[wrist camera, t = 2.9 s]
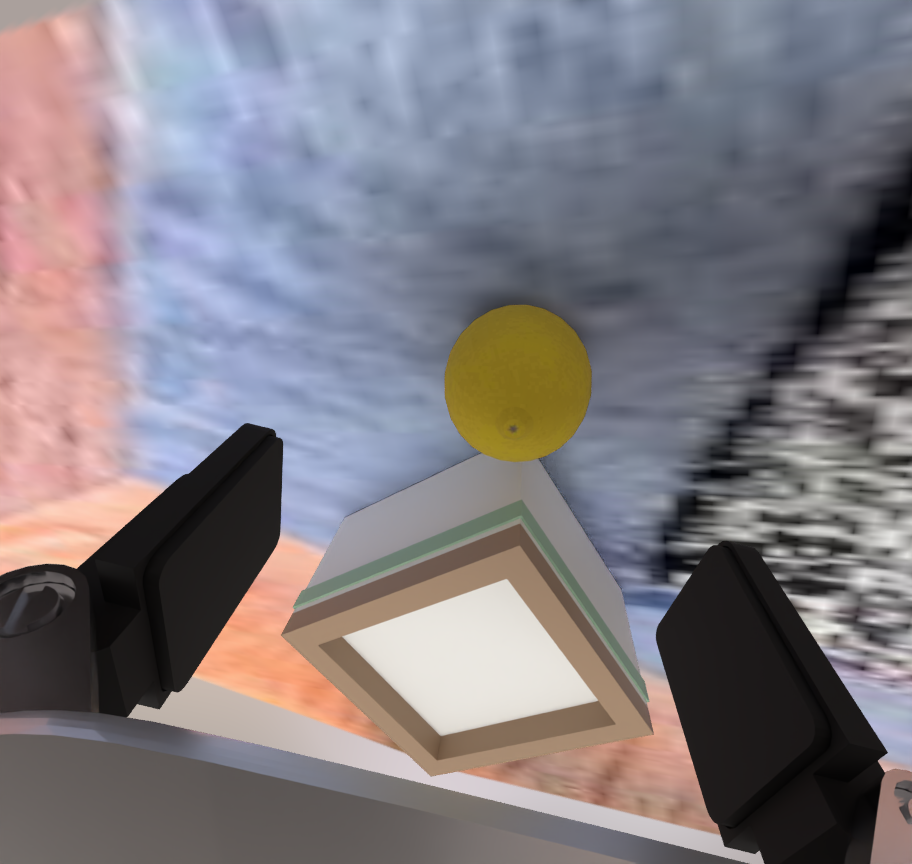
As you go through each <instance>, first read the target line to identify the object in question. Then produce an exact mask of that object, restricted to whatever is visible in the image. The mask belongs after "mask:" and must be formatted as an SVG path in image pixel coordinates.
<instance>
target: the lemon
mask: <svg viewBox="0 0 912 864" xmlns="http://www.w3.org/2000/svg"><path fill="white" fill-rule="evenodd" d="M591 379H592V371H591V366H590V362H589V359H588V355H587V351H586V349H585V347H584V345H583V343H582V342H581V340H580V339H579V337H578V335H577V334H576V332H575V331H574V330H573V329H572V328H571V327H570V326H569V325H568V324H567V323H566V322H565V321H564V320H563V319H562V318H560V317H559V316H557V315H555V314H553V313H551V312H549V311H547V310H546V309H543V308H539V307H535V306H530V305H507V306H504V307H500V308H497V309H493V310H491V311H489V312H487V313H486V314H484V315H482V316H481V317H479V318H477V319H475V320H474V321H473V322H472V323H471V324H470V325H469V326H468V327H467V328H466V329H465V330H464V331H463V332H462V333H461V335H460V336H459V338H458V340H457V341H456V343H455V345H454V347H453V348H452V350H451V352H450V355H449V359H448V363H447V366H446V370H445V399H446V403H447V407H448V411H449V414H450V417H451V420H452V421H453V423H454V425H455V427H456V428H457V430H458V432H459V433H460V435H461V436H462V437H463V438H464V439H465V440H466V441H467V442H468V443H469V444H470V445H471V446H472V447H473V448H475V449H477V450H478V451H480V452H481V453H483V454H484V455H487V456H490V457H493V458H495V459H498V460H502V461H510V462H523V461H532V460H535V459H538V458H541V457H545V456H547V455H549V454H550V453H552V452H554V451H556V450H557V449H559V448H560V447H562V446H563V445H564V444H565V443H566V442H567V441H568V440H569V439H570V438H571V437H572V436H573V435H574V434H575V432H576V430H577V429H578V427H579V426H580V424H581V422H582V421H583V419H584V417H585V414H586V410H587V407H588V404H589V400H590V397H591Z"/></svg>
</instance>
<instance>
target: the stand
mask: <svg viewBox="0 0 912 864" xmlns="http://www.w3.org/2000/svg"><path fill="white" fill-rule="evenodd" d="M293 608H294V609H295V610H294V612H293V614H292V616H291V618H290V619H289V621H288V623H287V625H286V627H285V629H284V630H283V632H282V634H281V636H282V637H283V638H284V639H285V640H286V641H287V642H288V643H290V644H291V645H292V646H293V647H294V648H295V649H296V650H297V651H298V652H299V653H300V654H301V655H302V656H303V657H304V658H305V659H307V660H308V661H309V662H310V663H311V664H312V665H313V666H314V667H315V668H316V669H317V670H318V671H319V672H320V673H321V674H322V675H324V676H325V677H326V678H327V679H328V680H329V681H330V682H331V683H332V684H333V685H334V686H335V687H336V688H337V689H338V690H340V691H341V692H342V693H343V694H344V695H345V696H346V697H347V698H348V699H349V700H350V701H351V702H352V703H353V704H354V705H355V706H357V707H358V708H359V709H360V710H361V711H362V712H363V713H364V714H365V715H366V716H367V717H368V718H369V719H370V720H371V721H372V722H374V723H375V724H376V725H377V726H378V727H379V728H380V729H381V730H382V731H383V732H384V733H385V734H386V735H387V736H388V737H390V738H391V739H392V740H393V741H394V742H395V743H396V744H397V745H398V746H399V747H400V748H401V749H402V750H403V751H404V752H405V753H407V754H408V755H409V756H410V757H411V758H412V759H413V760H414V761H415V762H416V763H417V764H418V765H419V766H420V767H421V768H423V769H424V770H425V771H426V772H427V773H428V774H429V775H430V776H436V775H441V774H447V773H452V772H457V771H463V770H468V769H473V768H479V767H484V766H489V765H495V764H500V763H505V762H510V761H516V760H521V759H526V758H532V757H537V756H542V755H548V754H553V753H558V752H564V751H569V750H574V749H579V748H585V747H590V746H595V745H601V744H606V743H611V742H617V741H622V740H627V739H632V738H638V737H643V736H648V735H654V733H653V728H652V724H651V720H650V715H649V711H648V706H647V702H649V698H648V694H647V690H646V685H645V681H644V680H643V678H642V677H641V675H640V671H639V666H638V662H637V657H636V653H635V649H634V644H633V640H632V635H631V631H630V626H629V622H628V617H627V613H626V609H625V604H624V600H623V595H622V591H621V589H620V587H619V586H618V584H617V582H616V581H615V579H614V578H613V576H612V575H611V573H610V571H609V570H608V568H607V567H606V565H605V563H604V562H603V560H602V559H601V557H600V556H599V554H598V552H597V551H596V549H595V548H594V546H593V544H592V543H591V541H590V540H589V538H588V537H587V535H586V533H585V532H584V530H583V529H582V527H581V525H580V524H579V522H578V521H577V519H576V518H575V516H574V514H573V513H572V511H571V510H570V508H569V506H568V505H567V503H566V502H565V500H564V499H563V497H562V495H561V494H560V492H559V491H558V489H557V488H556V486H555V484H554V483H553V481H552V480H551V478H550V476H549V475H548V473H547V472H546V470H545V469H544V467H543V465H542V464H541V462H540V461H539V459H535V460H532V461H523V462H510V461H502V460H498V459H495V458H493V457H490V456H487V455H484V454H483V453H480V454H478V455H476V456H474V457H472V458H470V459H467V460H465V461H463V462H461V463H459V464H457V465H455V466H453V467H451V468H448V469H446V470H444V471H442V472H440V473H438V474H436V475H434V476H432V477H429V478H427V479H425V480H423V481H421V482H419V483H417V484H415V485H413V486H410V487H408V488H406V489H404V490H402V491H400V492H398V493H396V494H394V495H391V496H389V497H387V498H385V499H383V500H381V501H379V502H377V503H375V504H372V505H370V506H368V507H366V508H364V509H362V510H360V511H358V512H356V513H353V514H351V515H349V516H347V517H345V518H344V520H343V521H342V523H341V525H340V527H339V529H338V531H337V533H336V534H335V536H334V538H333V540H332V542H331V544H330V545H329V547H328V549H327V551H326V553H325V555H324V557H323V558H322V560H321V562H320V564H319V566H318V568H317V570H316V571H315V573H314V575H313V577H312V579H311V581H310V582H309V584H308V586H307V588H306V589H305V590H303V591H301V593H300V595H299V597H298V599H297V600H296V602H295V604H294V606H293Z"/></svg>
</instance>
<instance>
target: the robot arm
mask: <svg viewBox="0 0 912 864" xmlns="http://www.w3.org/2000/svg"><path fill="white" fill-rule="evenodd" d="M282 465H283V441H282V439H281V438H278V437H276V433H275V431H274V430H273V429H270V428H265V427H261V426H257V425H253V424H249V423H245V424H244V425H242V426H241V427H240V428H239V429H238V430H237V431H236V432H235V433H233V434H232V435H231V436H230V437H229V438H228V439H227V440H226V441H225V442H223V443H222V444H221V445H220V446H219V447H218V448H217V449H216V450H215V451H214V452H212V453H211V454H210V455H209V456H208V457H207V458H206V459H205V460H204V461H202V462H201V463H200V464H199V465H198V466H197V467H196V468H195V469H194V470H193V471H191V472H190V473H189V474H185V475H183V476H181V477H180V478H178V479H177V480H176V481H175V482H174V483H173V484H171V485H170V486H169V487H168V488H167V489H166V490H165V491H164V492H162V493H161V494H160V495H159V496H158V497H157V498H156V499H155V500H153V501H152V502H151V503H150V504H149V505H148V506H147V507H146V508H144V509H143V510H142V511H141V512H140V513H139V514H138V515H137V516H135V517H134V518H133V519H132V520H131V521H130V522H129V523H128V524H126V525H125V526H124V527H123V528H122V529H121V530H120V531H119V532H117V533H116V534H115V535H114V536H113V537H112V538H111V539H110V540H109V541H107V542H106V543H105V544H104V545H103V546H102V547H101V548H100V549H98V550H97V551H96V552H95V553H94V554H93V555H92V556H91V557H89V558H88V559H87V560H86V561H85V562H84V563H83V564H82V565H80V566H79V567H78V568H77V569H75V568H72V567H69V566H66V565H60V564H42V565H34V566H27V567H24V568H21V569H17V570H14V571H11V572H7V573H5V574H3V575H1V576H0V864H748V863H744V862H740V861H736V860H732V859H728V858H724V857H720V856H716V855H712V854H708V853H704V852H700V851H696V850H692V849H688V848H684V847H680V846H676V845H671V844H668V843H664V842H659V841H656V840H652V839H648V838H644V837H639V836H636V835H632V834H628V833H624V832H620V831H616V830H611V829H607V828H603V827H599V826H595V825H591V824H587V823H583V822H579V821H575V820H571V819H567V818H562V817H558V816H554V815H550V814H545V813H542V812H537V811H533V810H529V809H525V808H521V807H517V806H513V805H509V804H505V803H501V802H496V801H493V800H488V799H484V798H480V797H476V796H472V795H468V794H463V793H459V792H455V791H451V790H447V789H443V788H438V787H435V786H430V785H426V784H422V783H418V782H414V781H409V780H406V779H401V778H397V777H393V776H388V775H384V774H380V773H376V772H371V771H368V770H363V769H359V768H354V767H351V766H346V765H342V764H338V763H334V762H330V761H325V760H321V759H317V758H312V757H308V756H304V755H300V754H296V753H291V752H287V751H283V750H279V749H274V748H270V747H266V746H262V745H258V744H253V743H249V742H244V741H240V740H235V739H230V738H226V737H221V736H216V735H212V734H207V733H202V732H198V731H193V730H189V729H184V728H179V727H175V726H170V725H166V724H161V723H156V722H151V721H145V720H138V719H133V718H126V717H128V716H129V714H130V713H131V711H132V710H133V709H134V707H135V706H136V705H137V704H139V705H143V706H148V707H152V708H156V709H160V708H161V707H162V705H163V704H164V702H165V701H166V699H167V698H168V696H169V695H170V693H171V692H172V691H174V692H179V691H181V690H182V689H183V688H184V687H185V685H186V684H187V683H188V681H189V680H190V678H191V677H192V675H193V674H194V672H195V671H196V669H197V667H198V666H199V664H200V663H201V661H202V660H203V658H204V657H205V655H206V654H207V652H208V651H209V649H210V648H211V646H212V644H213V643H214V641H215V640H216V638H217V637H218V635H219V634H220V632H221V631H222V629H223V628H224V626H225V624H226V623H227V621H228V620H229V618H230V617H231V615H232V614H233V612H234V611H235V609H236V608H237V606H238V605H239V603H240V601H241V600H242V598H243V597H244V595H245V594H246V592H247V591H248V589H249V588H250V586H251V585H252V583H253V581H254V580H255V578H256V577H257V575H258V574H259V572H260V571H261V569H262V568H263V566H264V565H265V563H266V562H267V560H268V558H269V557H270V555H271V554H272V552H273V551H274V549H275V547H276V545H277V543H278V540H279V536H280V524H281V494H282ZM656 641H657V645H658V649H659V652H660V655H661V659H662V662H663V665H664V669H665V672H666V675H667V679H668V682H669V685H670V689H671V692H672V695H673V699H674V702H675V705H676V708H677V712H678V715H679V718H680V722H681V725H682V728H683V732H684V735H685V738H686V742H687V745H688V748H689V752H690V755H691V758H692V762H693V765H694V768H695V772H696V775H697V778H698V781H699V785H700V788H701V791H702V795H703V798H704V801H705V805H706V808H707V811H708V813H709V816H710V817H711V819H712V820H713V821H714V822H715V823H717V824H718V827H719V830H720V834H721V837H722V840H723V843H724V846H725V847H728V848H733V849H737V850H741V851H745V852H749V853H753V854H755V853H757V852H758V851H759V850H760V852H761V855H762V858H763V860H764V863H765V864H912V772H910V771H907V770H900V769H893V770H890V771H887V772H884V771H883V769H882V767H881V766H880V764H879V763H878V760H879V759H880V758H882V757H883V756H884V755H885V754H887V753H888V752H887V750H886V749H885V747H884V746H883V744H882V743H881V741H880V740H879V738H878V737H877V735H876V733H875V732H874V730H873V729H872V727H871V726H870V724H869V723H868V721H867V719H866V718H865V716H864V715H863V713H862V712H861V710H860V709H859V707H858V706H857V704H856V702H855V701H854V699H853V698H852V696H851V695H850V693H849V692H848V690H847V689H846V687H845V685H844V684H843V682H842V681H841V679H840V678H839V676H838V675H837V673H836V671H835V670H834V668H833V667H832V665H831V664H830V662H829V661H828V659H827V658H826V656H825V654H824V653H823V651H822V650H821V648H820V647H819V645H818V644H817V642H816V641H815V639H814V637H813V636H812V634H811V633H810V631H809V630H808V628H807V627H806V625H805V623H804V622H803V620H802V619H801V617H800V616H799V614H798V613H797V611H796V610H795V608H794V606H793V605H792V603H791V602H790V600H789V599H788V597H787V596H786V594H785V593H784V591H783V589H782V588H781V586H780V585H779V583H778V582H777V580H776V579H775V577H774V575H773V574H772V572H771V571H770V569H769V568H768V566H767V565H766V563H765V562H764V560H763V558H762V557H761V555H760V554H759V552H758V551H757V550H756V549H755V548H753V547H750V546H746V545H742V544H737V543H733V542H729V541H722V542H721V543H719V544H718V545H713V546H711V547H710V548H709V549H708V551H707V552H706V554H705V555H704V557H703V558H702V560H701V561H700V563H699V564H698V566H697V567H696V569H695V570H694V572H693V573H692V575H691V576H690V578H689V579H688V581H687V582H686V584H685V585H684V587H683V589H682V590H681V592H680V593H679V595H678V596H677V598H676V599H675V601H674V602H673V604H672V605H671V607H670V608H669V610H668V611H667V613H666V614H665V616H664V617H663V619H662V620H661V622H660V623H659V625H658V627H657V631H656Z"/></svg>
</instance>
